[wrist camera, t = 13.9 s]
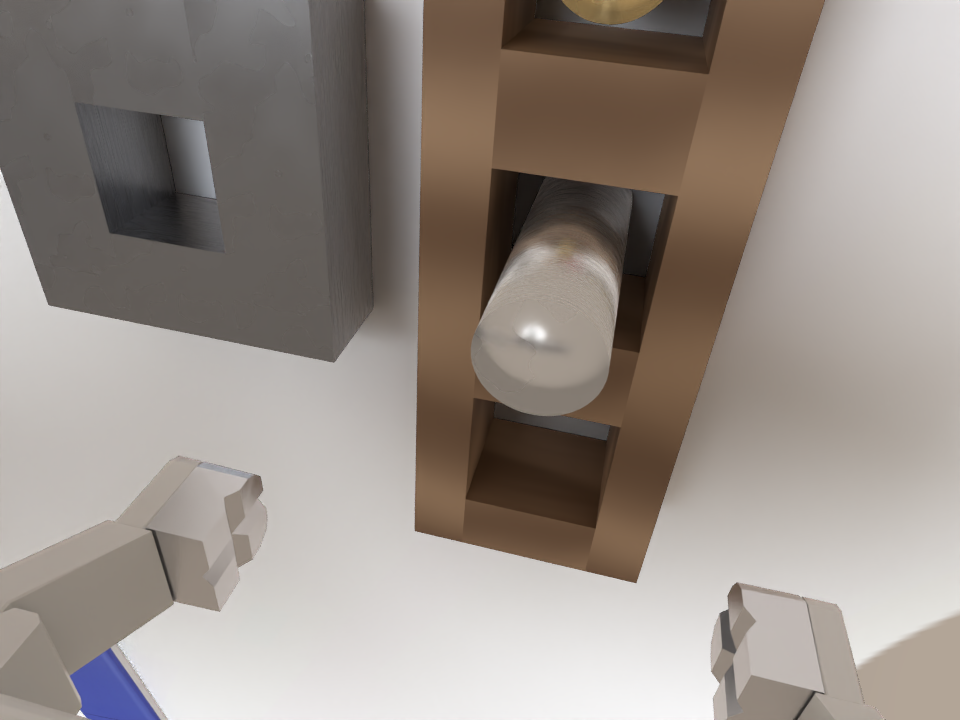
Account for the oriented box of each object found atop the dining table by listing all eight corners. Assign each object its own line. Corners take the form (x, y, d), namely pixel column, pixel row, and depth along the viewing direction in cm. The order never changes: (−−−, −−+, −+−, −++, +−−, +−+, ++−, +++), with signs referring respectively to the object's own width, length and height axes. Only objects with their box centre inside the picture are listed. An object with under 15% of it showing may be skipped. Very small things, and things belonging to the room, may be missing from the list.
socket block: (373, 308, 28) (334, 362, 25) (115, 260, 30) (48, 305, 27) (363, -20, 21) (308, -3, 18) (28, -57, 23) (-76, -48, 20)
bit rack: (641, 491, 30) (636, 583, 26) (447, 450, 32) (414, 530, 28) (878, -315, 15) (950, -388, 11) (489, -330, 17) (430, -399, 13)
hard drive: (12, 632, 52) (83, 720, 59) (100, 647, 50) (164, 736, 57) (28, 614, 53) (96, 702, 60) (114, 628, 51) (175, 717, 58)
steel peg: (622, 250, 24) (596, 427, 16) (534, 235, 25) (466, 401, 17) (641, 161, 22) (621, 314, 14) (545, 148, 23) (474, 288, 15)
